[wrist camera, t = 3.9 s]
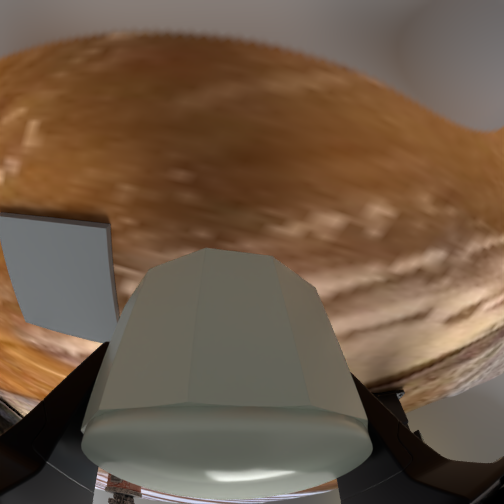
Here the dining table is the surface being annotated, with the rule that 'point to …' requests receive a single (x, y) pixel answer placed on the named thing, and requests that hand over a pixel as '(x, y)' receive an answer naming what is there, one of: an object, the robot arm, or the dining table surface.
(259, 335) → the sage cup
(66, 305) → the slate coaster
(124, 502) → the lighter
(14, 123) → the dining table surface
